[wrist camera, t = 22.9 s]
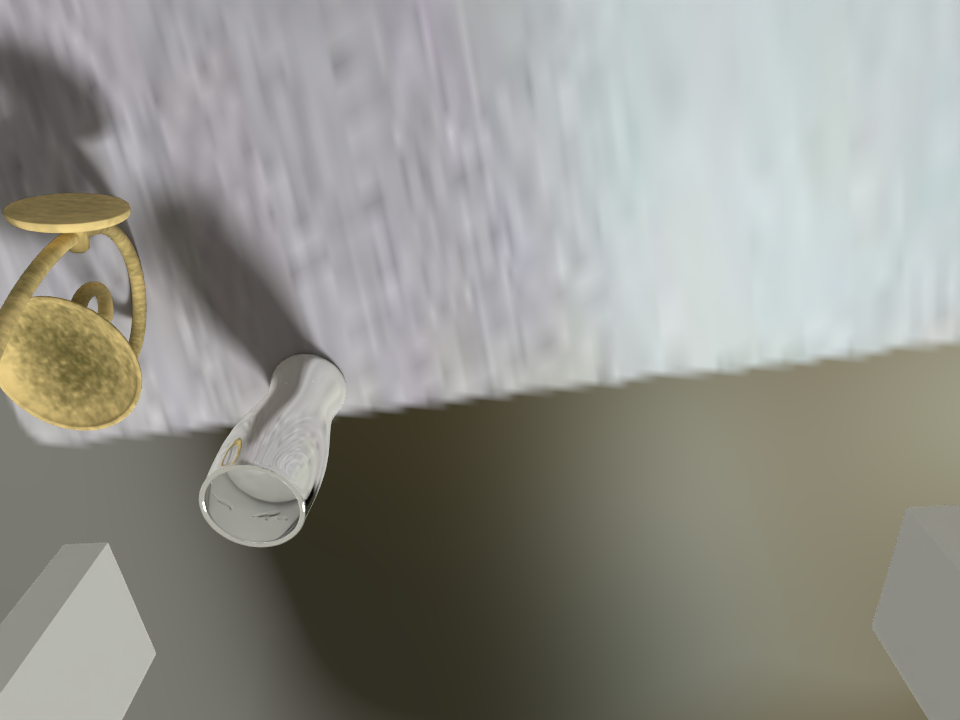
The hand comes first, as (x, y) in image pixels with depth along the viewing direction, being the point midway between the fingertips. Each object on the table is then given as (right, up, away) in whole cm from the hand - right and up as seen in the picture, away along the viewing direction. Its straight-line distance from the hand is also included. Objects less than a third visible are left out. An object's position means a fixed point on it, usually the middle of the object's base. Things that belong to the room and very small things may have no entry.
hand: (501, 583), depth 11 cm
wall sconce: (-26, +10, +39) cm, 48 cm away
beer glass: (-14, +2, +43) cm, 46 cm away
